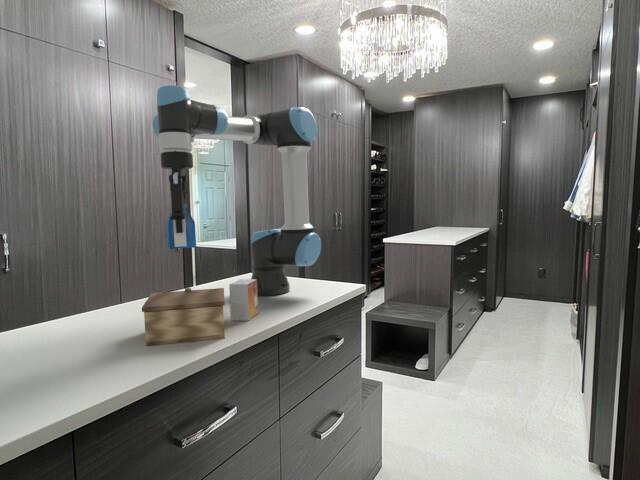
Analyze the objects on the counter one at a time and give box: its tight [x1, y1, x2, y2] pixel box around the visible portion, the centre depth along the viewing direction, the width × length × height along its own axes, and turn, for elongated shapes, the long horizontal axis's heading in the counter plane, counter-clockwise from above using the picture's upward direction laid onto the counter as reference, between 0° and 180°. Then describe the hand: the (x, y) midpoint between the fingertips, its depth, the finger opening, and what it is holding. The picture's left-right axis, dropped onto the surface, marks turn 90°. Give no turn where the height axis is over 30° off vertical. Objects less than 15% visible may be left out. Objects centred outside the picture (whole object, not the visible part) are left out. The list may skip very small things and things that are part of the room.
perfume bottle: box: [166, 199, 197, 250], centre depth 104 cm, size 6×6×12 cm
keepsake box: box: [143, 305, 226, 347], centre depth 106 cm, size 18×14×8 cm
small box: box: [228, 278, 259, 322], centre depth 120 cm, size 8×6×10 cm
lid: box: [141, 287, 226, 313], centre depth 105 cm, size 19×14×2 cm
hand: (182, 244), depth 104 cm, fingers closed on perfume bottle, 7 cm apart
